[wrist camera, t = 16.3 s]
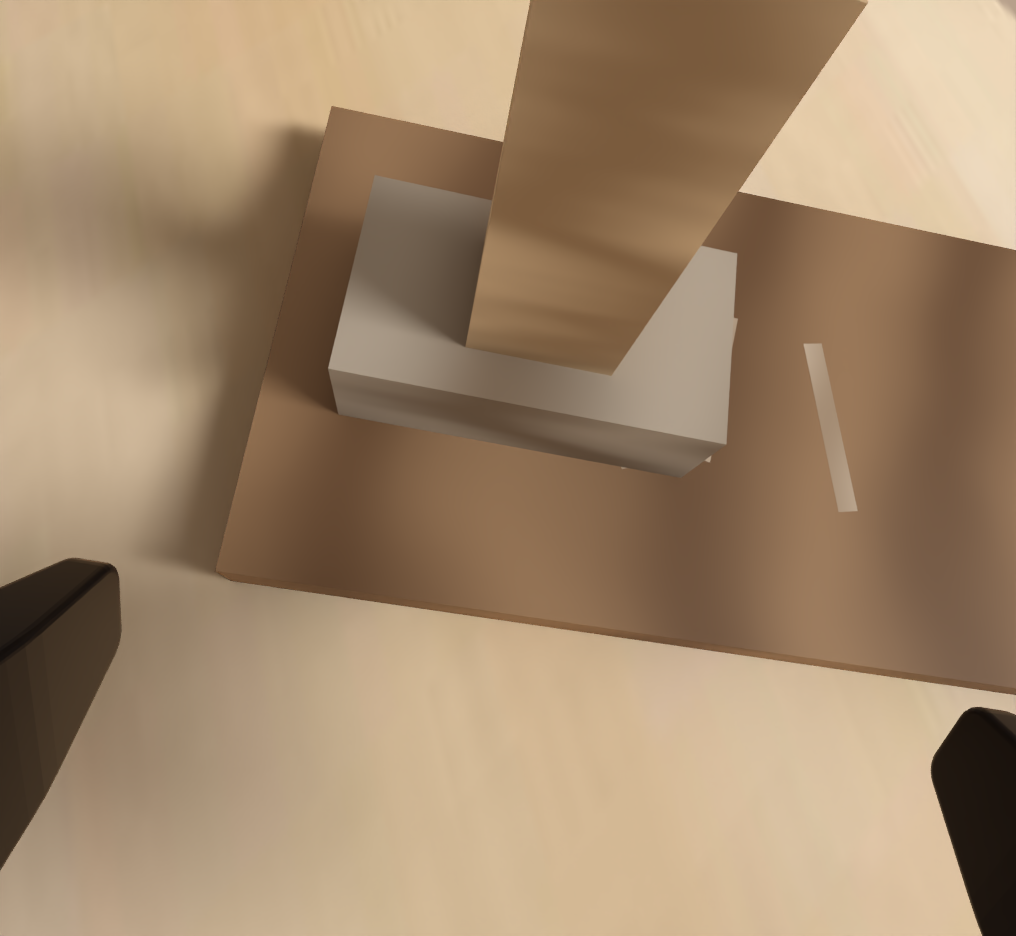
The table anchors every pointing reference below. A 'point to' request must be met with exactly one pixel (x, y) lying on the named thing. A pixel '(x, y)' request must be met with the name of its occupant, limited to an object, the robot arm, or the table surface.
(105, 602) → the robot arm
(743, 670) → the table surface
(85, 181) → the table surface
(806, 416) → the walnut board
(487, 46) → the table surface
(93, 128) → the table surface
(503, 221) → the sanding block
